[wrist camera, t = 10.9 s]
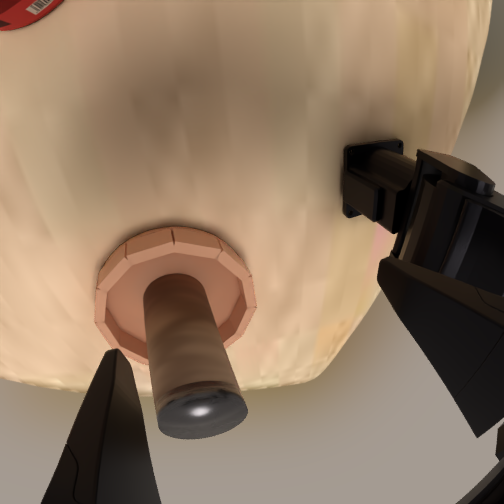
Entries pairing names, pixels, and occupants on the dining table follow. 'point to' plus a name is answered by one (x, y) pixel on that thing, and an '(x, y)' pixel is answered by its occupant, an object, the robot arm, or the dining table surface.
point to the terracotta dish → (162, 263)
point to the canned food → (23, 12)
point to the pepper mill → (188, 361)
